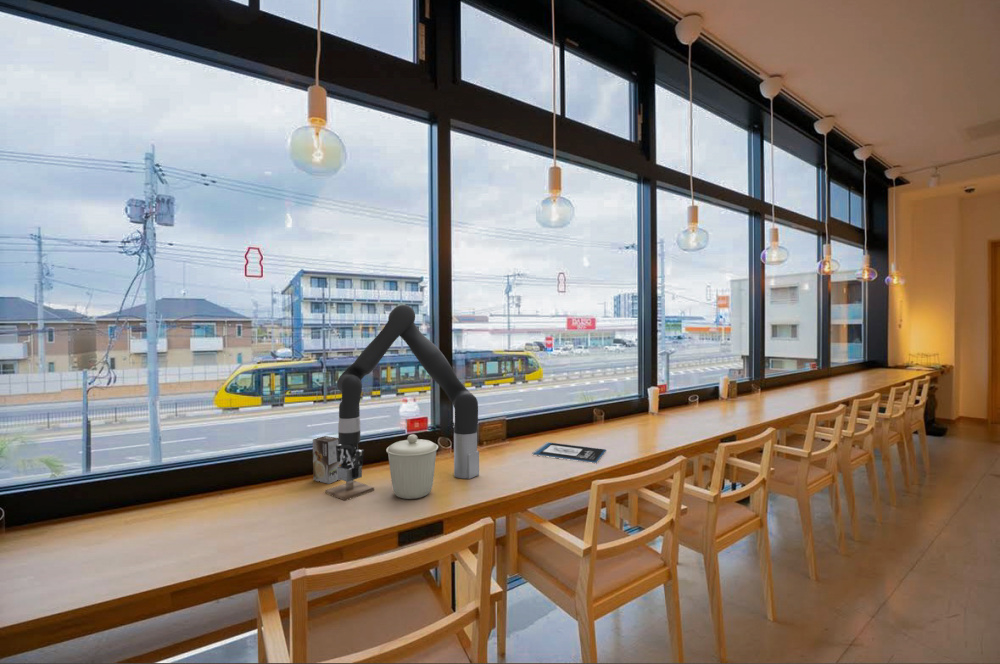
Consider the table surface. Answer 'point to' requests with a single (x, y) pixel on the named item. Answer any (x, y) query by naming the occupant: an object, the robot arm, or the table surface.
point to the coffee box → (325, 459)
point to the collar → (347, 472)
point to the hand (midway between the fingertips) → (349, 475)
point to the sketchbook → (570, 452)
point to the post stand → (349, 490)
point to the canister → (412, 467)
